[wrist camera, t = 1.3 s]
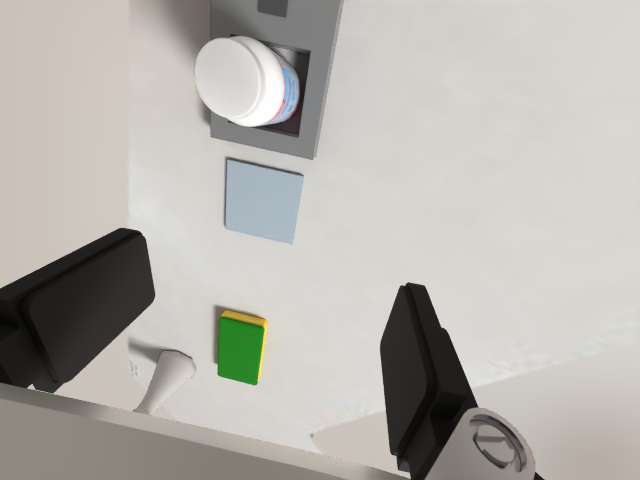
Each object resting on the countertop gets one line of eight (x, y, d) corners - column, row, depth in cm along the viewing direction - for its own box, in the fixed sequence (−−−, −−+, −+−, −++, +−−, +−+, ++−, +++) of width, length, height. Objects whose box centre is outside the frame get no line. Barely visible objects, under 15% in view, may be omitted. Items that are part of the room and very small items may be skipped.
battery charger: (227, -194, 20) (205, -243, 17) (373, -167, 19) (375, -212, 17) (221, 135, 30) (207, 137, 28) (315, 155, 30) (311, 160, 27)
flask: (197, 355, 48) (161, 412, 39) (196, 380, 51) (162, 437, 43) (159, 344, 48) (114, 398, 39) (160, 370, 51) (119, 425, 43)
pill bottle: (281, 134, 30) (242, 148, 20) (234, 96, 28) (168, 90, 18) (314, 84, 27) (289, 71, 17) (265, 39, 26) (206, -3, 16)
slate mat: (229, 159, 31) (227, 159, 31) (303, 175, 31) (303, 176, 31) (227, 227, 36) (225, 228, 35) (293, 242, 35) (292, 244, 35)
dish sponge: (269, 318, 42) (264, 329, 40) (261, 374, 49) (256, 386, 47) (225, 307, 43) (218, 318, 41) (223, 364, 49) (217, 376, 47)
